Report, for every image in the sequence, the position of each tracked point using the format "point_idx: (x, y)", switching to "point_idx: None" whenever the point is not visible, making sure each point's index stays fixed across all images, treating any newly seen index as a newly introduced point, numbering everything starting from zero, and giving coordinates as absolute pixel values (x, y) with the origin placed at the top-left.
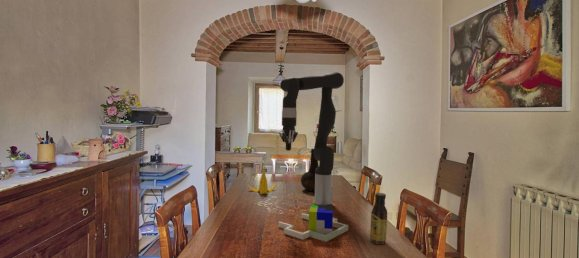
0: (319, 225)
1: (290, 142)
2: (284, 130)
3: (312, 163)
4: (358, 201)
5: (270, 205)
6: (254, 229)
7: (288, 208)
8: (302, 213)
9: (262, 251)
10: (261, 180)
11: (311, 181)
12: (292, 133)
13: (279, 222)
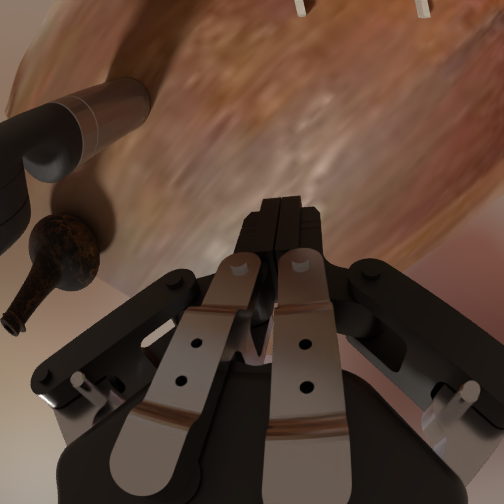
0: None
1: (260, 263)
2: (464, 489)
3: (38, 290)
4: (34, 80)
5: (293, 187)
6: (481, 61)
7: (265, 122)
8: (301, 13)
9: None
10: None
11: (76, 239)
12: (185, 406)
13: (429, 14)
